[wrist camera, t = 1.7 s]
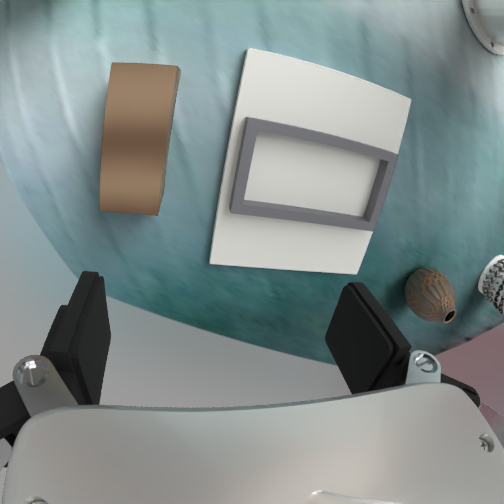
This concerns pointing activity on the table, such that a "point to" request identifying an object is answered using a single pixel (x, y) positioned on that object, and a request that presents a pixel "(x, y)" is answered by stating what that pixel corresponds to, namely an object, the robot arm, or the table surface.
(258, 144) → the slot board
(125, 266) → the table surface
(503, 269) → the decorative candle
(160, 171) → the walnut bar
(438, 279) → the vase
